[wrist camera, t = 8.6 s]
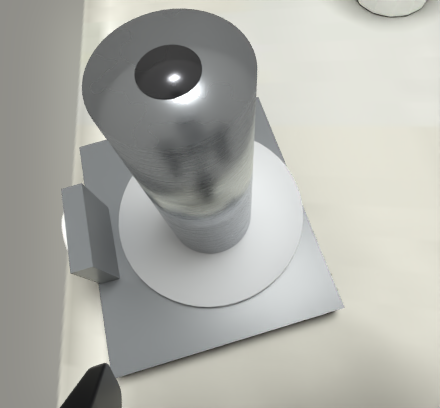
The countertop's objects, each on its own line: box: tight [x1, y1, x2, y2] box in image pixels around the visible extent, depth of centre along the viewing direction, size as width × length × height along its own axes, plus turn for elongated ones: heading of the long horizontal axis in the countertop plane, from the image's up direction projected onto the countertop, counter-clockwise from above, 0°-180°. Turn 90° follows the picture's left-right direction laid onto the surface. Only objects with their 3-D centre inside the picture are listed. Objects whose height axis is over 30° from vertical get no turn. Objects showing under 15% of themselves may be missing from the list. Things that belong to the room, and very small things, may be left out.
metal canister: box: [82, 9, 257, 254], centre depth 15 cm, size 5×5×13 cm
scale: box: [61, 97, 344, 378], centre depth 21 cm, size 16×14×6 cm
